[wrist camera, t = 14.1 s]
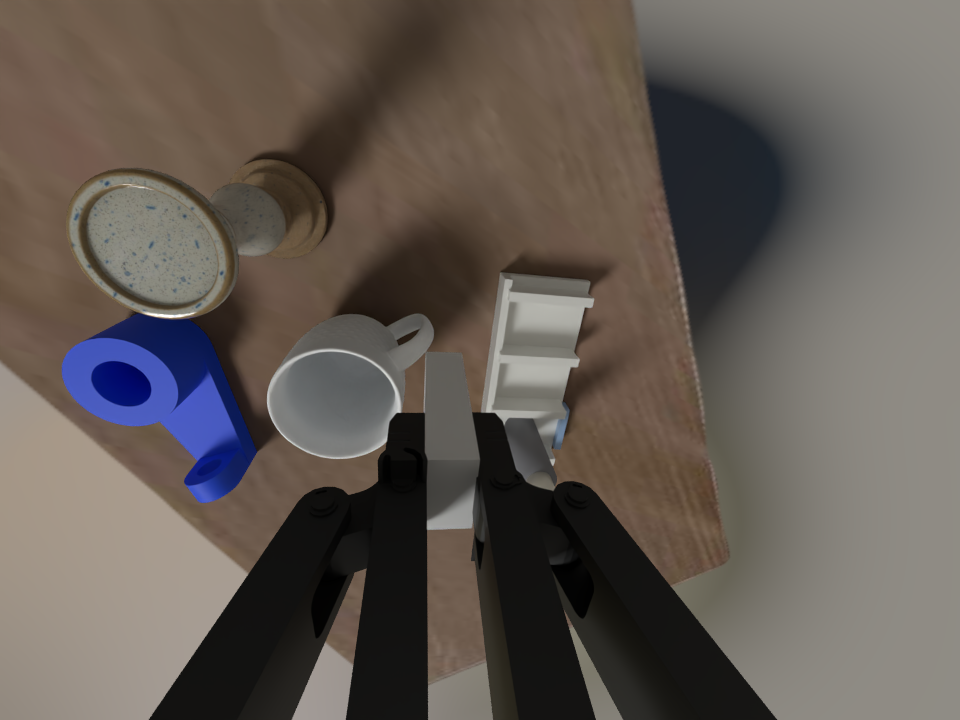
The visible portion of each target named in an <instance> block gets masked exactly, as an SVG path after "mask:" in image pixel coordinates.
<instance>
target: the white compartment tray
mask: <svg viewBox="0 0 960 720" xmlns="http://www.w3.org/2000/svg"><path fill="white" fill-rule="evenodd" d="M590 283H591V282H590V281H588V280H583V279H571V278H560V277H549V276H538V275H527V274H515V273H504V272H500V278H499V285H498V292H497V299H496V307H495V314H494V321H493V328H492V336H491V343H490V350H489V357H488V364H487V372H486V379H485V386H484V393H483V401H482V408H481V413H496V414H497V415H498V417H499V418H500V419H501V420H502V421H503V424H504V425H505V422H506V421H507V419H508V418H533V420H534V422H535V425H536V427H537V429H538V432H539V434H540V437H541V439H542V442H543V444H544V447H545V449H546V452H547V454H548V456H549V459H550V461H551V464H552V465H554V462H555V458H554V455H553V453H552V451H551V448H552V445H553V447H554V449H561V445H562V441H563V437H564V432H565V428H566V424H567V420H568V416H569V412H570V410H569V408H568V406H567V405H566V403H565V402H562V401H563V397H564V393H565V389H566V385H567V380H568V376H569V372H570V368H571V367H578V364H579V360H580V359H579V358H578V357H577V355H576V354H575V353H574V351H575V346H576V342H577V338H578V334H579V329H580V325H581V321H582V317H583V313H584V308H585V307H587V308H592V307H593V303H594V298H593V297H592V296H590V295H589V294H588V291H589V287H590Z"/></svg>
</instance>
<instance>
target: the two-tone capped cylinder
mask: <svg viewBox="0 0 960 720" xmlns="http://www.w3.org/2000/svg"><path fill="white" fill-rule="evenodd" d="M504 427H505V433H506V434H507V438H508V442H509V445H510V449H511V452H512V456H513V460H514V463H515V467H516V470H517V471H518V472H520V473H521V474H522V475H523V477H524V479H525V480H526V482H528V483H530V484H531V485H534V486H537V487H540V488H544V489H548V490H552V491H554V489H555V487H554V486H555V485H556V482H557V476H556V474H555V471H554V469H553V466H552V464H551V461H550V459H549V456H548V454H547V452H546V449H545V447H544V444H543V442H542V439H541V437H540V434H539V432H538V429H537V427H536V425H535V422H534V420H533V418H508V419H507V421H506V422H505V425H504Z"/></svg>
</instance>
